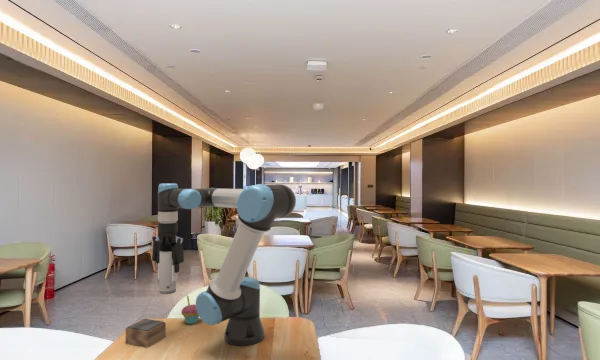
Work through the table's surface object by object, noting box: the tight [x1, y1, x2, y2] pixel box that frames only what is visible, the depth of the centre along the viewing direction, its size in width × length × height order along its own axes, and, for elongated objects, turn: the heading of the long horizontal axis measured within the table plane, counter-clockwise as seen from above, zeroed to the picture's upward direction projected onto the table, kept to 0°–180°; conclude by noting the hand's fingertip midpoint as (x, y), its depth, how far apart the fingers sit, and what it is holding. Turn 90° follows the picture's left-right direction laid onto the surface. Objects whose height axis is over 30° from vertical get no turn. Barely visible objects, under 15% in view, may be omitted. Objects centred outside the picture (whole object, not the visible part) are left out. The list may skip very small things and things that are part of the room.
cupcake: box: [181, 294, 200, 325], centre depth 166 cm, size 9×8×12 cm
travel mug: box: [158, 242, 177, 295], centre depth 155 cm, size 6×7×20 cm
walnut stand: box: [125, 318, 167, 348], centre depth 147 cm, size 10×10×6 cm
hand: (167, 279), depth 155 cm, fingers closed on travel mug, 6 cm apart
